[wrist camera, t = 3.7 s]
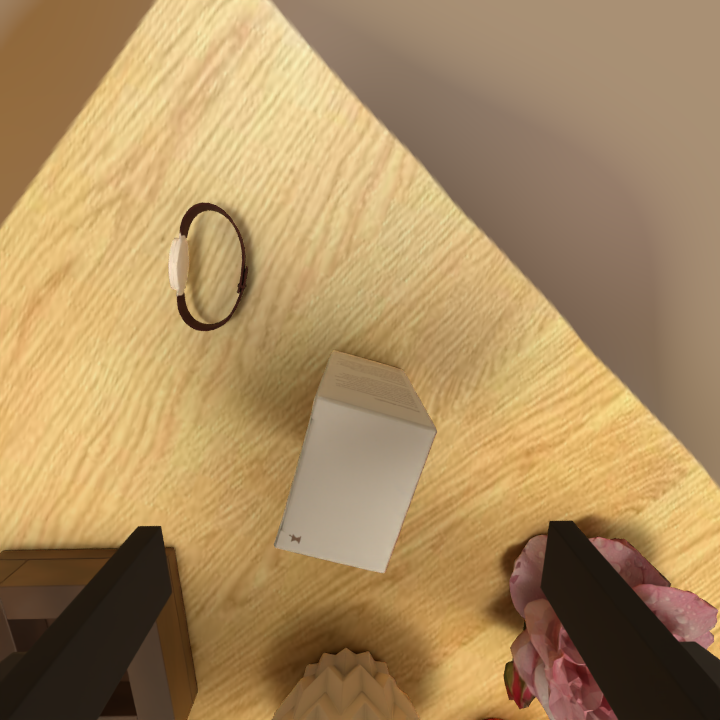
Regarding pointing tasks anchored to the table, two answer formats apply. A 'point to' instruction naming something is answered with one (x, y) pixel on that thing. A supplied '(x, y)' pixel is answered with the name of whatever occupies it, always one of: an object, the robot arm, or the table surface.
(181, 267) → the watch
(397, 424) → the small box
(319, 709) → the vase
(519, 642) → the flower
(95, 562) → the square wooden frame
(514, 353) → the table surface
